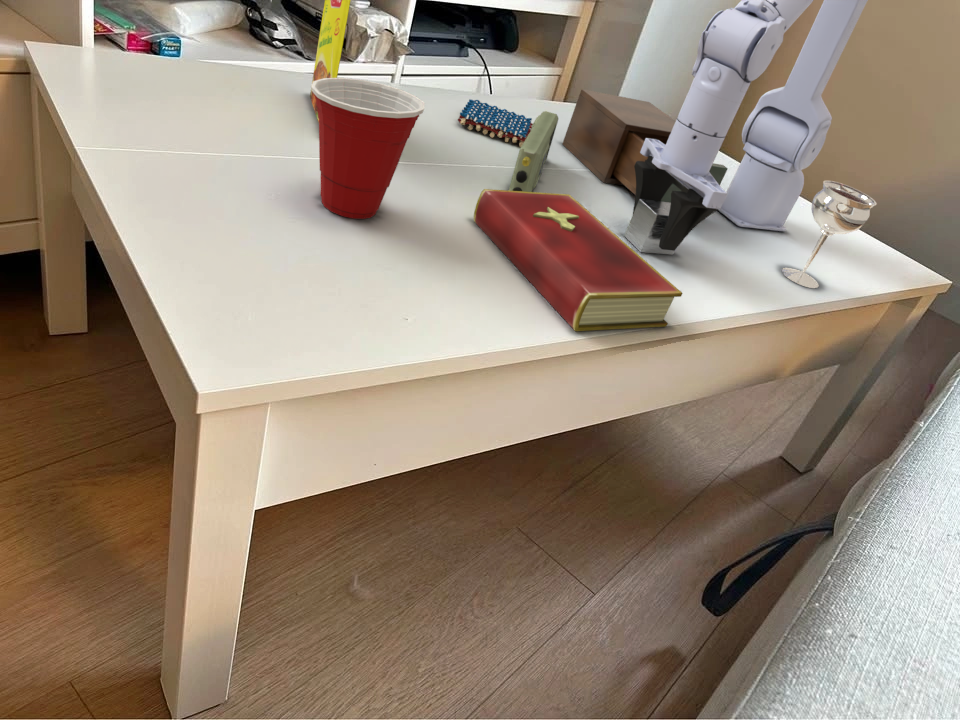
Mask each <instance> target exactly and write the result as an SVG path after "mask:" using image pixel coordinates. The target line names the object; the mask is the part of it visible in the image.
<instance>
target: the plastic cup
mask: <svg viewBox="0 0 960 720" xmlns="http://www.w3.org/2000/svg"><path fill="white" fill-rule="evenodd" d="M311 90H312V92H313V93H314V95H315V99H316V107H317V108H318V118H319V122H318V138H319V139H318V147H319V149H318V151H319V152H318V153H319V155H318V157H319V172H320V198H321V203H322V205H323V207H324V208H325V209H327V210H328V211H329V212H331V213H334V214H336V215H338V216H341V217H344V218H349V219H353V220H365V219H371V218H372V217H374V216H375V215H376V214H377V213H378V210H379V209H380V207H381V204H382V202H383V201H384V197H385V194H386V192H387V190H388V188H389V187H390V185H391V182H392V180H393V177H394V175H395V172H396V170H397V168H398V165H399V162H400V159H401V157H402V155H403V153H404V150H405V147H406V145H407V142H408V139H410V136H411V134H412V131H413V129H414V128H415V125H416V122H417V121H418V120H419V117H420V115H421V114H423V113H424V111H425V106H426V105H425V104H426V103H425V102H424V101H423V100H422V99H420V98H419V97H418V96H417V95H414V94H412V93H409V92H408V91H405V90H403V89H400V88H396V87H393V86H391V85H387V84H384V83H380V82H379V83H378V82H375V81H370V80H364V79H356V78H348V77H347V78H346V77H337V78H323V79H320V80H316V81H313V83H312V82H311V85H310V91H311Z"/></svg>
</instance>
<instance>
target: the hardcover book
mask: <svg viewBox="0 0 960 720" xmlns="http://www.w3.org/2000/svg"><path fill="white" fill-rule="evenodd" d="M473 221H474V223H475V225H477V226H478V227H479V228H480V230H482V232H483V233H484V234H485V235H486V236H487V237H488V238H489V239H490V241H492V242H493V244H494V245H495V246H496V247H497V248H498V249H499V250H500V251H501V252H502V253H503V254H504V255H505V257H506V258H507V259H508V260H509V261H510V262H511V263H512V264H513V265H514V266H515V267H516V269H517V270H518V271H519V272H520V273H521V274H522V275H523V276H524V277H525V279H527V281H528V282H529V283H530V284H531V285H532V286H533V287H534V288H535V289H536V290H537V291H538V292H539V294H540V295H541V296H542V297H543V298H544V299H545V300H546V302H547V303H549V304H550V306H551V307H552V308H553V309H554V310H555V311H556V312H557V313H558V314H559V316H561V317H562V318H563V320H565V322H566V323H567V324H568V325H569V326H570V327H571V328H572V330H574V331H575V332H586V331H587V332H589V331H604V330H605V331H606V330H608V331H609V330H626V329H642V328H643V329H645V328H661V327H663V328H665V327H667V326H668V324H669V322H667V321H666V319H665V317H666V315H667V313H668V311H669V309H670V306H671V305H672V303H673V301H674V299H675V297H676V298H677V297H678V298H681V297H682V296H683V292H682V291H681V290H679V289H678V287H676V285H674V284H673V283H672V282H670V280H668V279H667V278H666V277H665V276H664V275H663V274H661V273H660V272H659V271H658V270H657V269H656V268H655V267H654V266H652V265H651V264H650V263H649V262H647V260H645V259H644V258H643V257H642V255H641V256H640V255H639V254H638V253H637V252H636V251H635V250H634V249H633V248H632V247H630V246H629V245H628V244H627V243H626V242H624V241H623V239H621V238H620V237H619V236H618V235H616V233H615V232H613V231H612V230H611V229H609V227H607V226H606V224H604V223H603V222H601V220H599V219H598V217H596V216H594V214H592V213H591V212H590V211H589V210H588V209H586V207H585V206H584V205H582V204H581V203H580V202H579V201H578V200H576V198H574V197H573V196H572V195H571V194H569V193H552V192H539V191H538V192H537V191H535V192H534V191H532V192H524V191H509V189H508V190H505V189H492V188H491V189H490V188H483V190H482V191H481V192H480V194H479V196H478V198H477V201H476V204H475V207H474V213H473Z"/></svg>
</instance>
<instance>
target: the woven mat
mask: <svg viewBox="0 0 960 720" xmlns="http://www.w3.org/2000/svg"><path fill="white" fill-rule="evenodd" d="M532 120H533V118H532V117H527V116H526V115H524V114H520V113H516V112H515V111H510V110H507V109H505V108H502V109H501V107H498V106H497V105H493V104H489V103H487V102H483V101H482V100H480V99H474V100H473V99H471V98H469V99H468V101H467V104H466V103H465V106H463V109H462V110H461V112H459V117H458V119H457V121H458V123H459V124H460V125H462V126H466V125H468V127H467V129H468V131H472V130H473V129H474V127H475V131H477V132H479V131H480V132H481V129H482V134H483V135H487V134H488V132H490V134H489V137H490V138H492V139H493V138H495V135H496V136H497V137H498V138H500V139H502V138H504V143H508V142H509V141H510V139H512V141H511V142H512V143H513V144H517V142H518V141H519V143H518V146H519V148H521V146H522V145H523V143H524V141H525V140H526V138H527V136H528V135H529V133H530V131H531V128H532V125H533V122H532Z"/></svg>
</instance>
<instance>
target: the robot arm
mask: <svg viewBox="0 0 960 720" xmlns="http://www.w3.org/2000/svg"><path fill="white" fill-rule="evenodd" d="M813 2H814V0H740V1H739V2H738V3H737V4H736V5H735V7H729V8H726V9H725V10H724V9H721V10H718V11H717V12H716V13H714V15H713V16H712V17H711V18H710V20H709V21H708V22H707V25H706V26H705V28H704V30H703V31H702V32H701V35H700V37H699V41H698V45H697V51H696V52H697V55H696V59H695V61H694V65H693V66H692V69H691V70H692V72H691V75H692V76H693V79H692V82H691V84H690V87H689V89H688V91H687V94H686V96H685V99H684V100H683V103H682V106H681V108H680V110H679V112H678V114H677V117H676V119H675V121H676V122H675V124H674V126H673V129H672V131H671V133H670V136H669V138H668V140H667V143H666V145H665V144H664V143H662V142H661V141H659V140H656V139H650V138H646V139H645V141H644V144H643V146H642V148H641V151H640V153H641V154H642V155H643V156H646V157H648V159H647V160H645V162H643V161H636V163H635V165H634V168H635V175H636V195H635V194H634V195H635V197H634V202H633V211H632V214H633V213H634V211H635V209H636V206H637V204H638V202H639V199H645V200H653V201H661V199H662V198H663V196H664V194H665V193H666V192H667V190H668V189H669V187H670V186H671V185H672V184H673V182H674V181H675V180H678V181H679V182H680V183H681V184H682V185H684V186H685V187H686V188H687V189H689V190H688V192H687V193H686V192H681V191H672V193H671V205H670V212H669V216H668V220H667V223H666V226H665V228H664V231H663V233H662V236H661V239H660V243H659V247H660V248H661V249H663V250H673V251H674V252H675V251H676V250H677V249H678V247H679V246H680V245H681V244H682V242H683V241H684V240H685V238H687V236H688V235H689V234H690V233H691V232H692V231H693V230H694V229H695V228H696V227H697V226H698V225H699V224H700V223H701V222H702V221H704V220H705V219H706V218H708V217H709V216H711V215H713V214H714V213H715V212H717V211H718V212H720V213H721V214H722V215H724V216H725V217H726V218H727V219H728V220H730V221H731V222H732V223H734V224H735V225H736V226H738V227H741V228H748V229H749V228H751V229H759V230H767V231H777V232H778V231H779V232H786V230H787V228H786V226H784V225H785V223H786V221H787V219H788V217H789V216H790V214H791V212H792V210H793V209H794V207H795V205H796V203H797V201H798V199H799V198H800V195H801V194H802V191H803V189H804V184H805V175H804V173H803V170H805V169H807V168H808V167H810V166H811V165H812V163H814V161H815V160H816V158H817V157H818V155H819V154H820V152H821V150H822V149H823V147H824V144H825V142H826V139H827V135H828V131H829V129H830V127H831V125H832V120H833V117H832V114H831V112H830V110H829V109H828V107H827V105H826V104H825V101H824V99H823V97H822V95H823V92H824V91H825V89H826V87H827V84H828V82H829V80H830V79H831V77H832V74H833V72H834V70H835V68H836V66H837V64H838V62H839V61H840V58H841V56H842V53H844V50H845V48H846V46H847V44H848V42H849V40H850V37H851V36H852V34H853V31H854V30H855V28H856V25H857V23H858V21H859V19H860V17H861V15H862V13H863V11H864V9H865V7H866V5H867V3H868V0H823V2H822V3H821V6H820V8H819V10H818V13H817V14H816V17H815V18H814V22H813V23H812V26H811V27H810V30H809V32H808V34H807V36H806V39H805V40H804V43H803V45H802V48H801V50H800V52H799V53H798V57H797V58H796V61H795V63H794V65H793V67H792V70H791V72H790V74H789V76H788V78H787V80H786V83H785V84H784V86H781V87H777V88H774V89H771V90H769V91H767V92H765V93H764V94H762V95H761V96H760V98H759V99H758V101H757V103H756V105H755V107H754V108H753V110H752V111H751V112H750V114H749V115H748V117H747V119H746V120H745V122H744V124H743V127H742V130H741V141H742V144H743V145H744V146H743V148H742V151H744V152H745V153H744V155H743V157H742V159H741V161H740V163H739V165H738V167H737V170H735V173H734V176H733V178H732V180H731V182H730V184H729V186H728V188H727V190H724V189H723V187H721V185H720V186H719V184H718V183H717V181H716V180H715V179H714V177H713V176H712V175H711V173H710V172H709V171H710V168H711V166H712V164H713V163H714V162H715V160H716V158H717V156H718V153H719V151H720V149H721V147H722V146H723V143H724V141H725V138H726V136H727V135H728V132H729V129H730V127H731V125H732V123H733V122H734V119H735V117H736V115H737V113H738V111H739V108H740V106H741V104H742V103H743V100H744V98H745V95H746V94H747V92H748V90H749V87H750V85H751V83H752V82H754V81H755V80H757V79H758V78H759V77H760V76H761V75H763V74H764V72H766V70H767V68H768V66H769V65H770V64H771V62H772V60H773V58H774V56H775V55H776V54H777V51H778V49H779V48H780V47H781V45H782V44H783V42H784V34H785V33H786V32H787V31H788V30H789V29H790V28H791V27H792V26H793V24H795V22H797V20H798V19H799V17H800V16H801V15H803V13H804V12H805V11H806V10H807V8H809V6H810V5H811V4H812V3H813Z"/></svg>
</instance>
